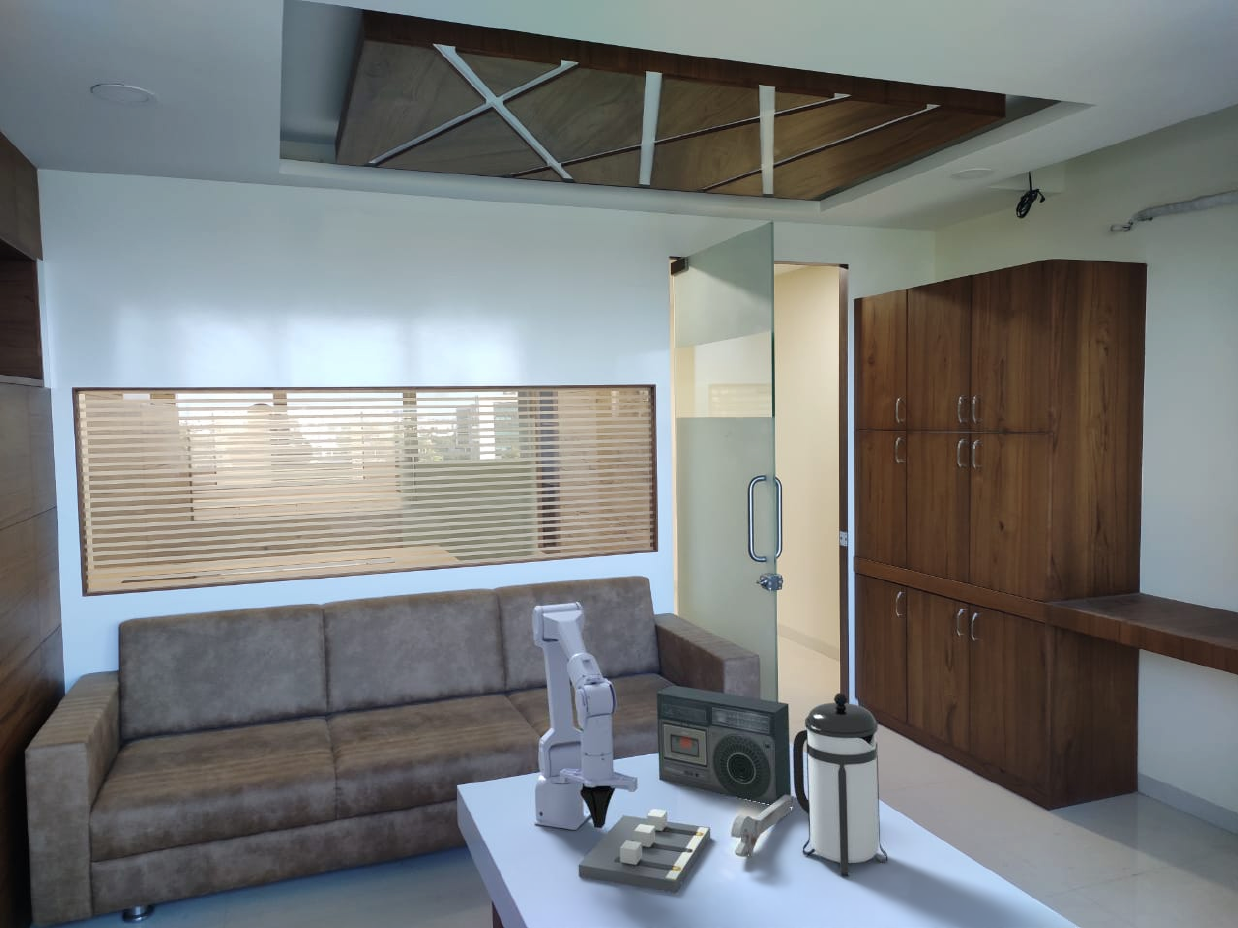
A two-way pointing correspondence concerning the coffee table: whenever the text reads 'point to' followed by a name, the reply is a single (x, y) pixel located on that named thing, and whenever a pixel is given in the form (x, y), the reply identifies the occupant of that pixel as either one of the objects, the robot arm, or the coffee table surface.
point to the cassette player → (724, 743)
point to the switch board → (647, 855)
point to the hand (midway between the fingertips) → (599, 825)
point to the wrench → (758, 824)
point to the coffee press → (840, 782)
